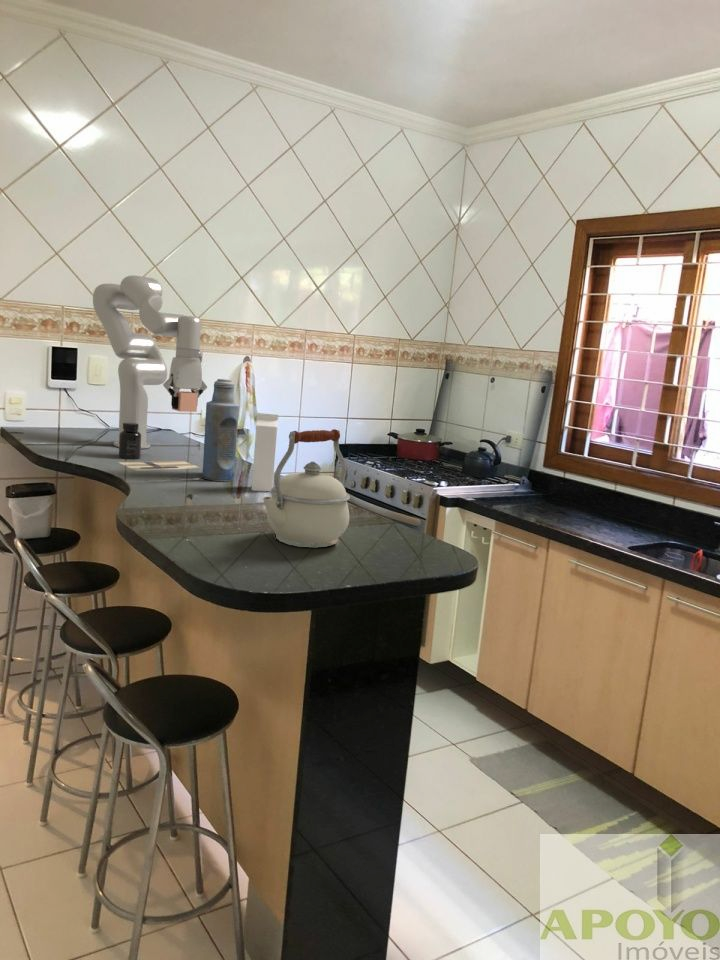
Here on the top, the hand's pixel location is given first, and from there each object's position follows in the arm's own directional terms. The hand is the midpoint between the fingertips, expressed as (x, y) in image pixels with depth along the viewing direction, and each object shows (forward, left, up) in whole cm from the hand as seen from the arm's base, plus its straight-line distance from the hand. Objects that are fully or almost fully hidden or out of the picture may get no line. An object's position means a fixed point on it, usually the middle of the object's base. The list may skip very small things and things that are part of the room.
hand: (184, 408), depth 256 cm
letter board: (+13, -14, -17) cm, 26 cm away
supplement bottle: (-1, -18, -18) cm, 25 cm away
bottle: (+32, -4, -18) cm, 37 cm away
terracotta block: (0, 0, -1) cm, 1 cm away
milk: (+49, +1, -18) cm, 52 cm away
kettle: (+100, -21, -18) cm, 104 cm away
